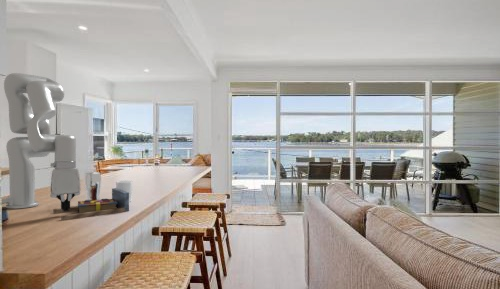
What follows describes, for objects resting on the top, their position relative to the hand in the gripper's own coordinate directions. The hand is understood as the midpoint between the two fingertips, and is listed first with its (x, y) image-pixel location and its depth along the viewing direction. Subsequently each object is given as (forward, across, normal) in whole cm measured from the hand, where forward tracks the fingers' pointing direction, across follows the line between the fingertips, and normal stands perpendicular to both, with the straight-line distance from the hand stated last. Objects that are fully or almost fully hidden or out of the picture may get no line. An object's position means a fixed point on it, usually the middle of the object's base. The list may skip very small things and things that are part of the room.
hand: (65, 210), depth 136 cm
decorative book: (+3, +13, 0) cm, 13 cm away
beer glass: (+2, +15, +16) cm, 22 cm away
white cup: (+2, +29, +13) cm, 32 cm away
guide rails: (+2, +9, 0) cm, 9 cm away
